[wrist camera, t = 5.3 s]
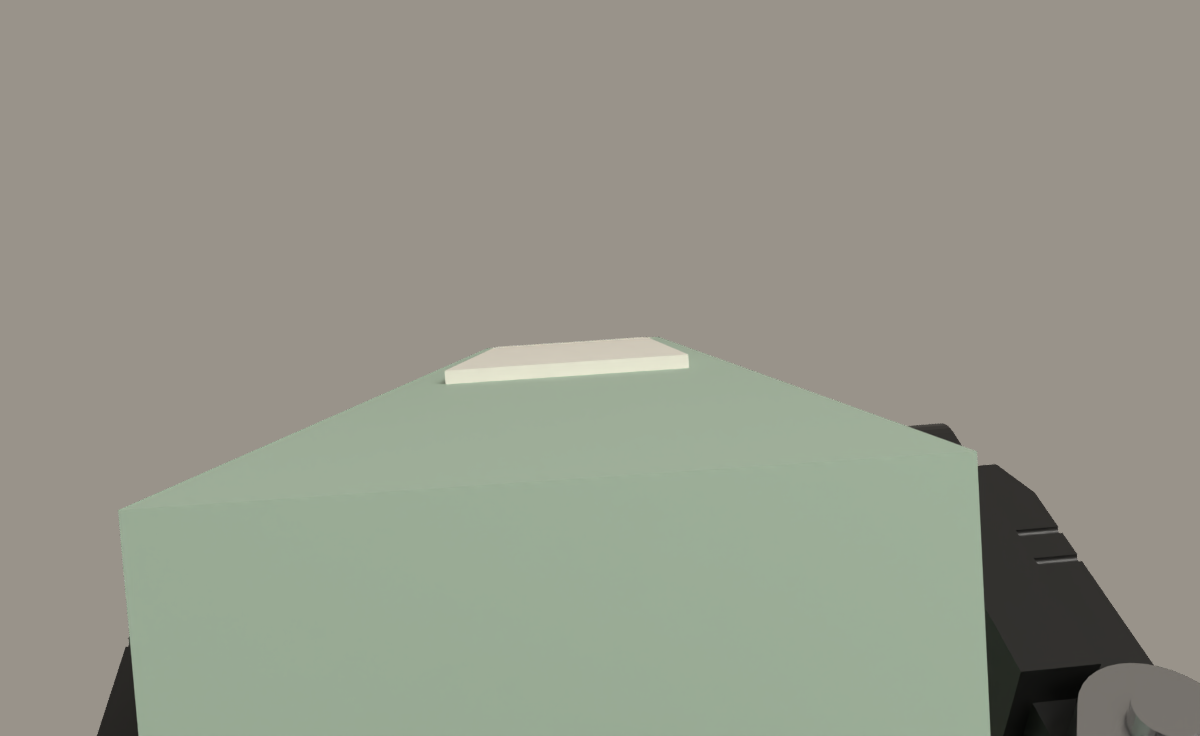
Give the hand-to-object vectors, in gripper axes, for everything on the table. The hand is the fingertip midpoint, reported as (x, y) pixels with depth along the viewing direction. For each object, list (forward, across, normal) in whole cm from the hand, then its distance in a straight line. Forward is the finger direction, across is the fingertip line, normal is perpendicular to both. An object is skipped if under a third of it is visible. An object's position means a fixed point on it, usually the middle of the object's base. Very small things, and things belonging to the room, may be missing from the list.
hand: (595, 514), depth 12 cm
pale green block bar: (+4, 0, +7) cm, 8 cm away
